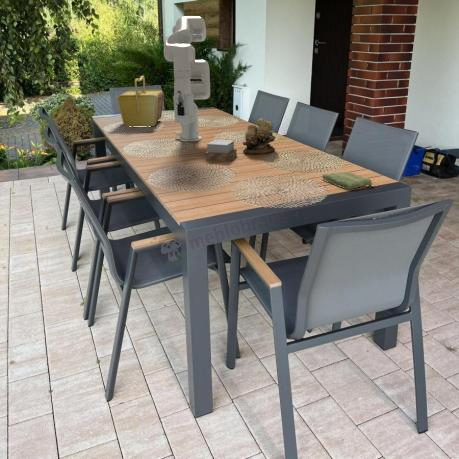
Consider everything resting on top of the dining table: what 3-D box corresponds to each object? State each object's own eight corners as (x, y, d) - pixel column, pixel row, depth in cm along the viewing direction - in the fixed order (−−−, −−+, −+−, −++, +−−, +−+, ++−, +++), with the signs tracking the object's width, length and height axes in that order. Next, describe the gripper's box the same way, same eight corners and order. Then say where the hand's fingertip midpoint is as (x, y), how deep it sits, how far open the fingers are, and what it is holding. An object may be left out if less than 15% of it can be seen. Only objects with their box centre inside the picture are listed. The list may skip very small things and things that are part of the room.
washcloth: (344, 176, 200) (345, 168, 199) (373, 187, 186) (374, 179, 184) (319, 180, 195) (319, 172, 194) (347, 192, 180) (348, 184, 179)
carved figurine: (268, 147, 249) (269, 114, 242) (281, 152, 239) (282, 118, 232) (238, 151, 241) (238, 117, 235) (249, 156, 232) (250, 121, 225)
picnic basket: (159, 128, 302) (156, 78, 290) (119, 128, 303) (114, 79, 291) (165, 120, 329) (162, 74, 317) (128, 120, 330) (124, 75, 318)
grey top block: (207, 152, 226) (207, 143, 224) (214, 147, 235) (214, 139, 233) (227, 153, 223) (227, 145, 221) (233, 148, 232) (233, 140, 230)
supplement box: (195, 121, 225) (194, 93, 220) (188, 124, 219) (187, 96, 214) (181, 120, 228) (179, 93, 223) (174, 123, 221) (172, 95, 216)
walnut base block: (205, 161, 226) (205, 152, 225) (213, 155, 237) (213, 147, 235) (229, 162, 223) (229, 154, 221) (236, 156, 234) (236, 148, 232)
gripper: (182, 72, 223) (184, 110, 230) (166, 76, 208) (169, 117, 215) (197, 72, 221) (198, 111, 228) (182, 76, 206) (184, 117, 213)
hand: (184, 113), depth 222 cm, fingers closed on supplement box, 7 cm apart
